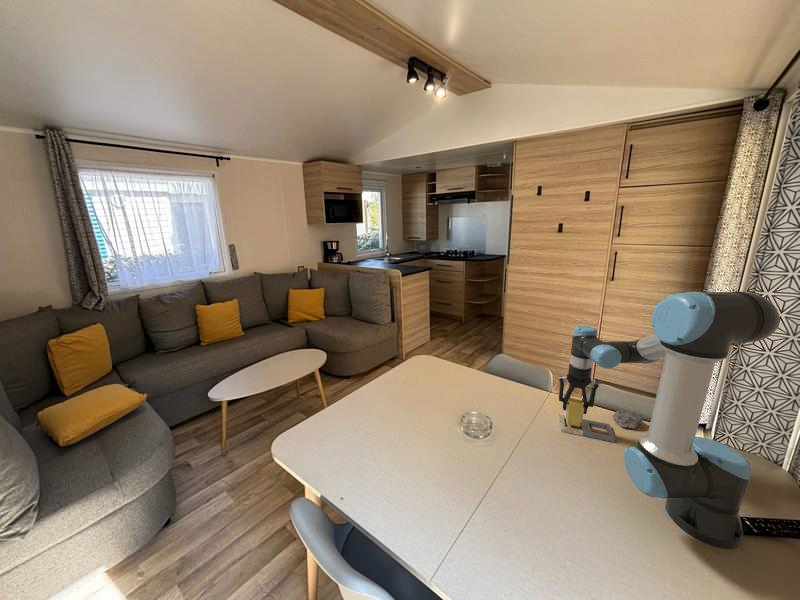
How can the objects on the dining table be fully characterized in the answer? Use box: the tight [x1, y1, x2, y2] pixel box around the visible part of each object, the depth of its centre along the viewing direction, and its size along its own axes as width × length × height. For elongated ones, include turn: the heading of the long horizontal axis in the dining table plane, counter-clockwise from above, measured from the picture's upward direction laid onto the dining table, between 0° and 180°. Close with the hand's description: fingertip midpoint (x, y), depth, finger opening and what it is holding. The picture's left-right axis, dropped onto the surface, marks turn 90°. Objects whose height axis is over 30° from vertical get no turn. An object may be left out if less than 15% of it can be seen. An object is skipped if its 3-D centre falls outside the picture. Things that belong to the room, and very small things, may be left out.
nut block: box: [565, 395, 584, 428], centre depth 124 cm, size 4×4×10 cm
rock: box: [612, 409, 643, 430], centre depth 127 cm, size 9×11×4 cm
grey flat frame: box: [558, 414, 616, 443], centre depth 124 cm, size 10×18×1 cm, turn 67°
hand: (573, 418), depth 125 cm, fingers closed on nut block, 4 cm apart
